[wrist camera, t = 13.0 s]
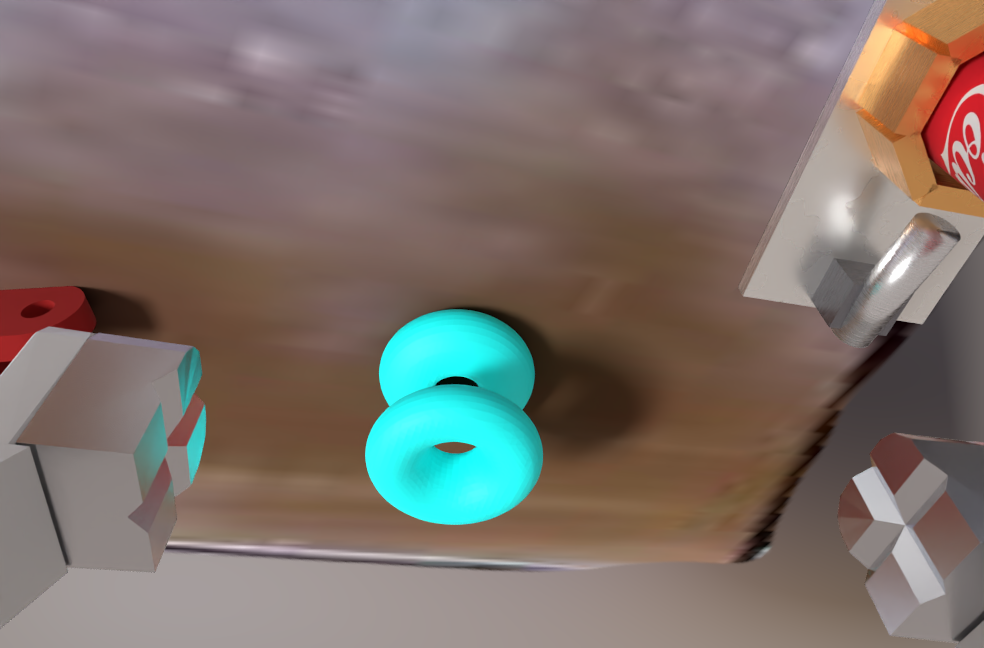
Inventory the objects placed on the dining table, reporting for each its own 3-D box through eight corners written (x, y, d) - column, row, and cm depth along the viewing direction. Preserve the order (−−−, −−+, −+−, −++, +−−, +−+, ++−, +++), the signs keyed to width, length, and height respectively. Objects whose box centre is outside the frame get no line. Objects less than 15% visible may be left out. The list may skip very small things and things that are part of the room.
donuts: (507, 548, 43) (344, 515, 41) (502, 429, 51) (366, 396, 49) (573, 437, 37) (388, 392, 35) (556, 323, 45) (404, 281, 43)
